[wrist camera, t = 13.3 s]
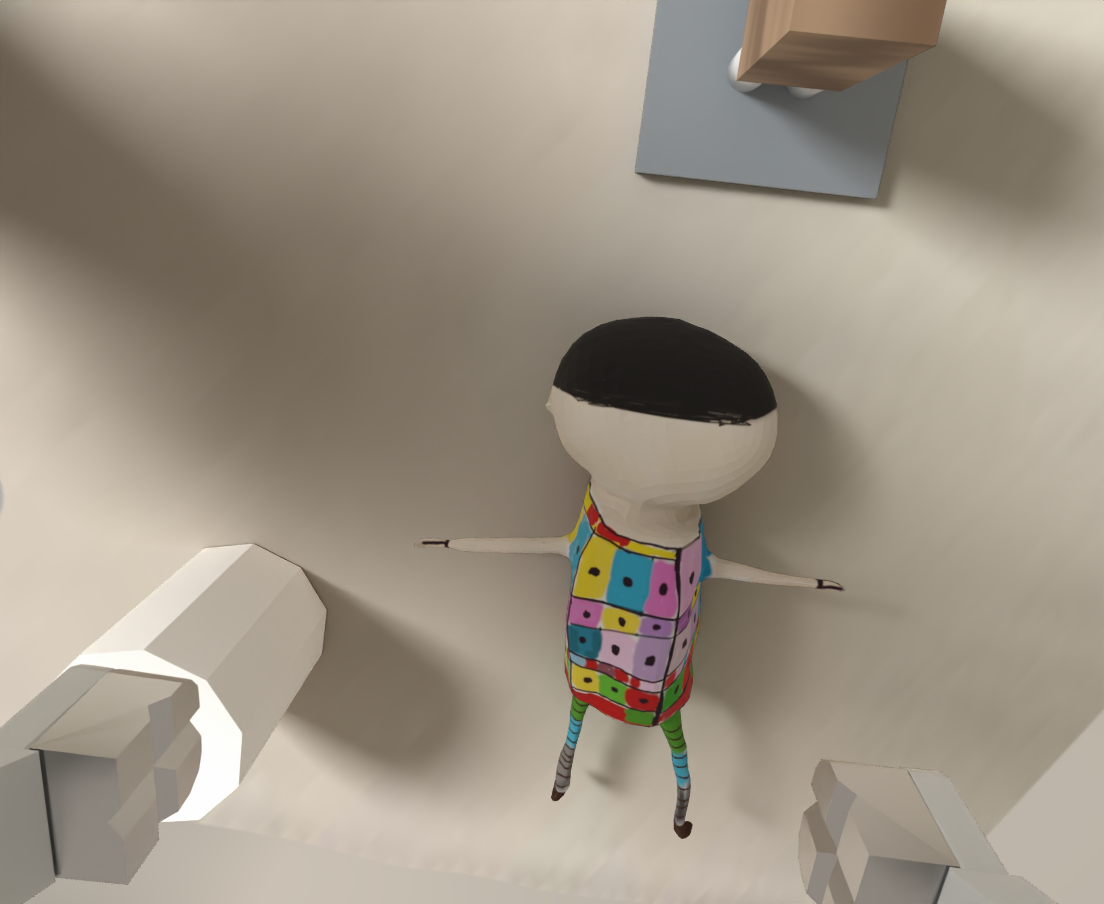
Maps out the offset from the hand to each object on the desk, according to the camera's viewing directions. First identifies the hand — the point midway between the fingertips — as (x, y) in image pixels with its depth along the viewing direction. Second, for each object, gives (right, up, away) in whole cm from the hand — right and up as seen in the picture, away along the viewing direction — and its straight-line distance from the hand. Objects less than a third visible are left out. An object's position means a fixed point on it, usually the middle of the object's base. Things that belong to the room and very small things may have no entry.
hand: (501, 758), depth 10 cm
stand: (+12, +24, +27) cm, 38 cm away
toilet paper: (-19, -6, +39) cm, 44 cm away
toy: (+5, -2, +36) cm, 37 cm away
